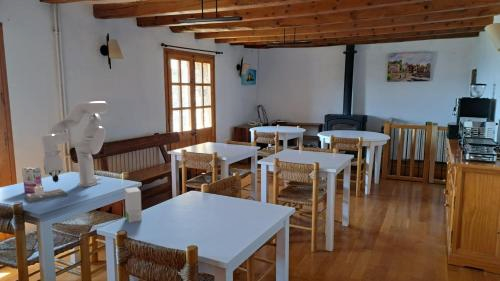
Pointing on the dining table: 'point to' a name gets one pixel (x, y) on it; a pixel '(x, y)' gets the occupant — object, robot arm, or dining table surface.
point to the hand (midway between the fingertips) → (56, 181)
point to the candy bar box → (31, 179)
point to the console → (45, 195)
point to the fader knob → (39, 190)
